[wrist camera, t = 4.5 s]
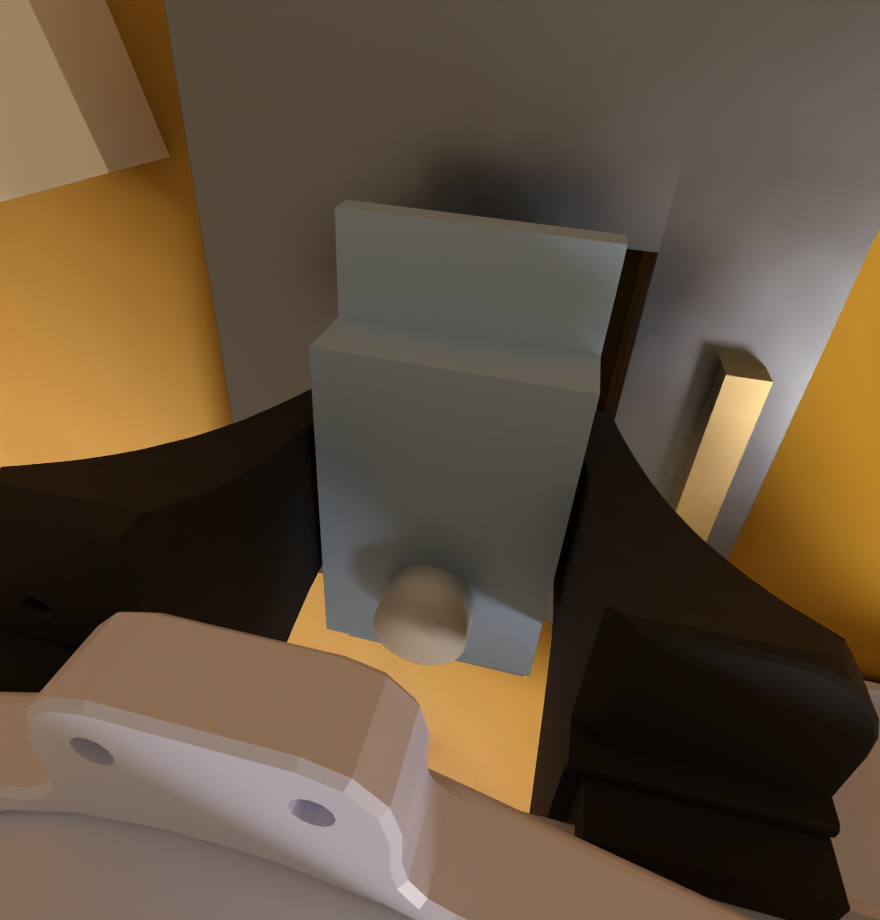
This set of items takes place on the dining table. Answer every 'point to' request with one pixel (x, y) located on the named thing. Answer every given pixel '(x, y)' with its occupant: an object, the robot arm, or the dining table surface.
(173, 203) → the dining table surface
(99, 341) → the dining table surface
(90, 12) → the box
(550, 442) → the block
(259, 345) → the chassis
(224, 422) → the dining table surface
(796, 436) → the dining table surface
